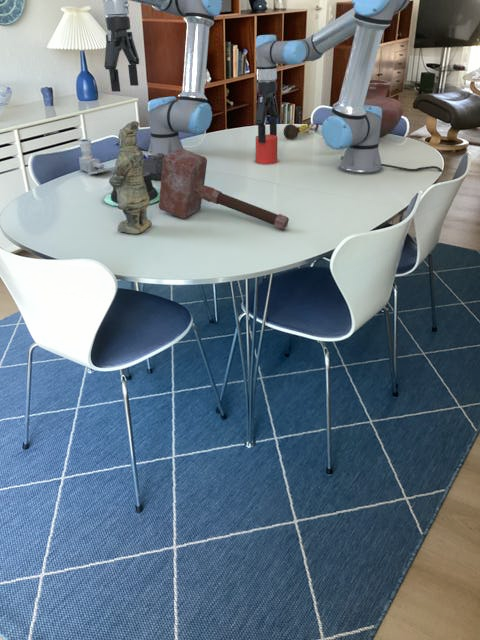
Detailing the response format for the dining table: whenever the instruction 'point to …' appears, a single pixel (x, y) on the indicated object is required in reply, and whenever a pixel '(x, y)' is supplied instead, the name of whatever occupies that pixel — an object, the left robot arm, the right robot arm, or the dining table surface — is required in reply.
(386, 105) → the clay pot
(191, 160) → the sledgehammer
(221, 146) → the dining table surface
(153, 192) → the chocolate cake
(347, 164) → the right robot arm
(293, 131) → the figurine
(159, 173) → the toy
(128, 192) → the statue
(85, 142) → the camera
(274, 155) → the canister
